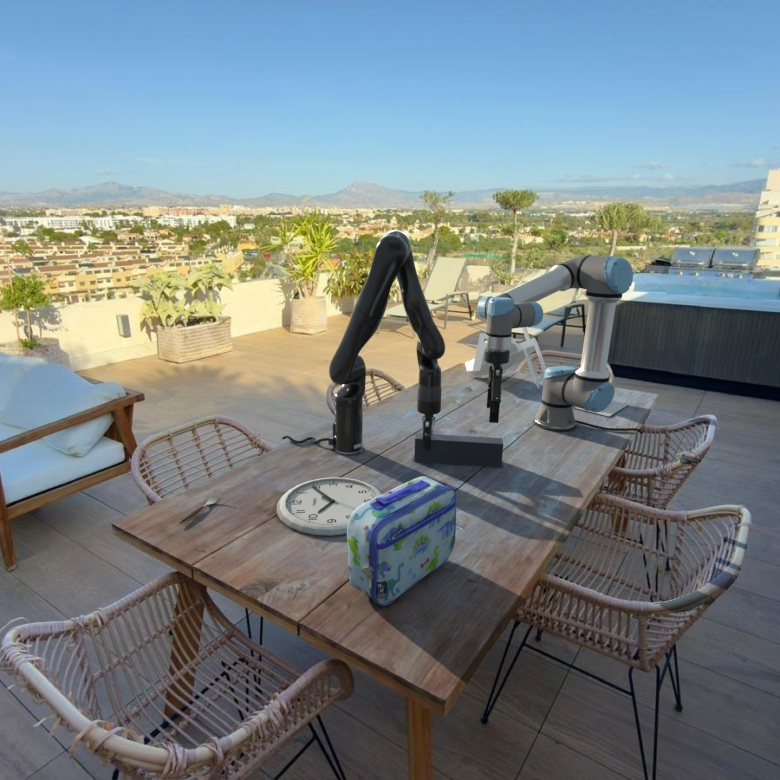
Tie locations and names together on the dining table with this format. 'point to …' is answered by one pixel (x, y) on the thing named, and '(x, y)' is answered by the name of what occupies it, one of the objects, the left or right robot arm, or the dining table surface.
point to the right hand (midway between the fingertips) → (492, 414)
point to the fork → (209, 502)
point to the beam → (460, 450)
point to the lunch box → (400, 538)
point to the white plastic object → (516, 353)
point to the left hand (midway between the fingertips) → (427, 444)
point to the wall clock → (324, 504)
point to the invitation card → (609, 408)
